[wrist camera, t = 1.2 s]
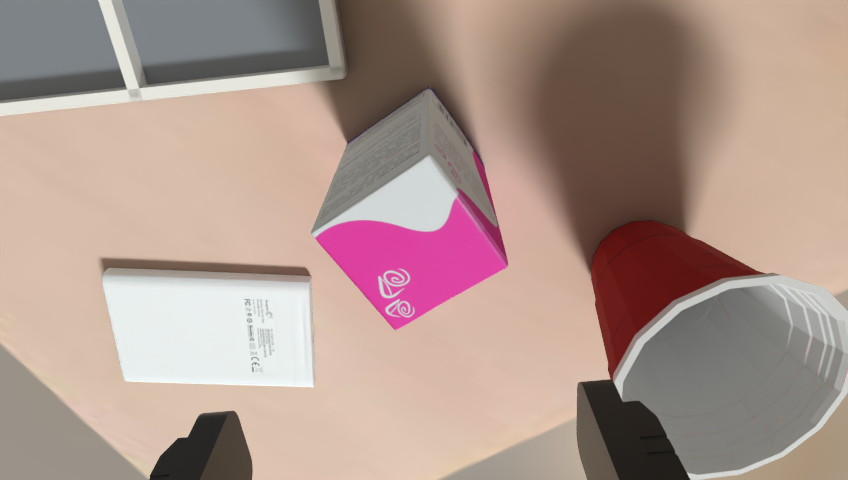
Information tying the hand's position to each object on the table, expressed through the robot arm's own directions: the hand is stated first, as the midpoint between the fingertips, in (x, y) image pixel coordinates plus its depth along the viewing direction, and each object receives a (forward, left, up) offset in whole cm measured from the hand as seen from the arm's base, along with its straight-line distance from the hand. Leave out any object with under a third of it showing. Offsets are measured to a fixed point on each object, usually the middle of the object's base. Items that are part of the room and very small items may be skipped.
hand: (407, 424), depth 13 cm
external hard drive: (+14, +10, -22) cm, 28 cm away
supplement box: (0, 0, -21) cm, 21 cm away
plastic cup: (-13, +8, -21) cm, 26 cm away
